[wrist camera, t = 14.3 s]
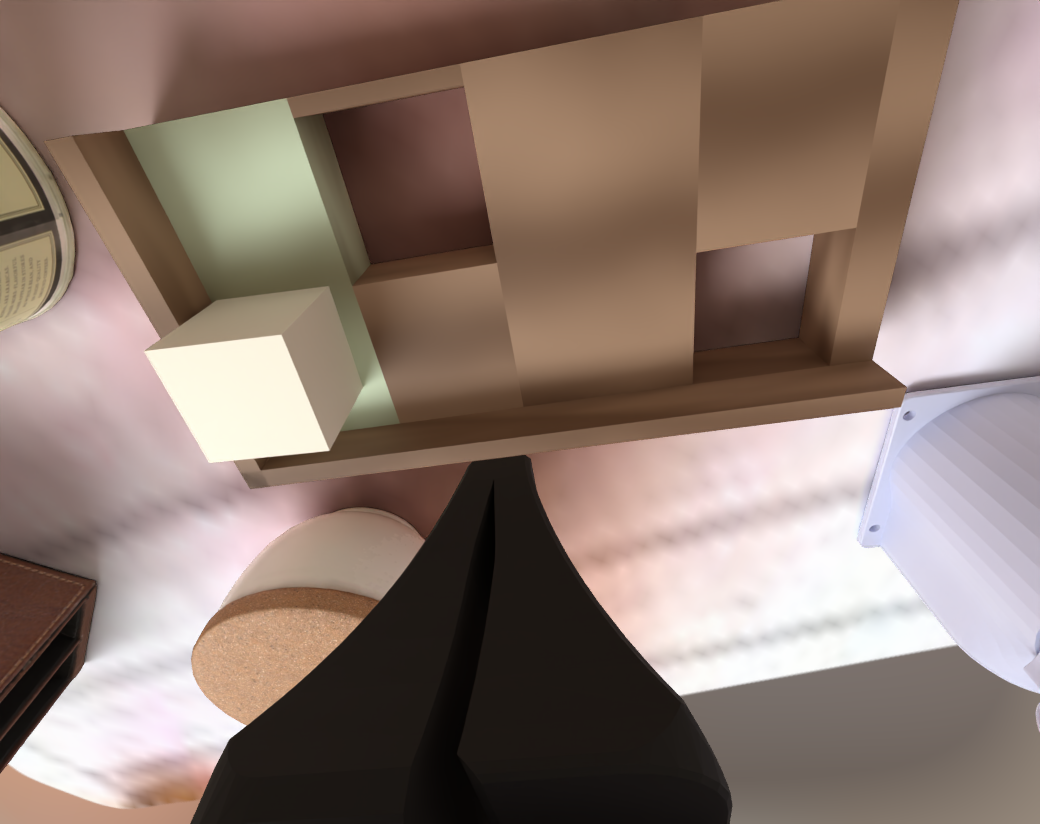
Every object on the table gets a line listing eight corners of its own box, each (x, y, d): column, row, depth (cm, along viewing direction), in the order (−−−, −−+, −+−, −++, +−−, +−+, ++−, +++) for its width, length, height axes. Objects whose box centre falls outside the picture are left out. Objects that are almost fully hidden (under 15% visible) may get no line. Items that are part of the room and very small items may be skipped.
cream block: (363, 387, 19) (329, 450, 16) (263, 398, 20) (209, 463, 16) (328, 285, 17) (281, 334, 14) (216, 299, 17) (143, 351, 14)
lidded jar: (300, 440, 24) (190, 615, 16) (501, 520, 27) (493, 703, 19) (248, 572, 29) (146, 754, 21) (422, 627, 32) (389, 807, 24)
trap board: (833, 349, 21) (901, 407, 17) (294, 423, 23) (250, 489, 19) (904, -20, 15) (1036, -56, 11) (151, 129, 17) (43, 141, 13)
